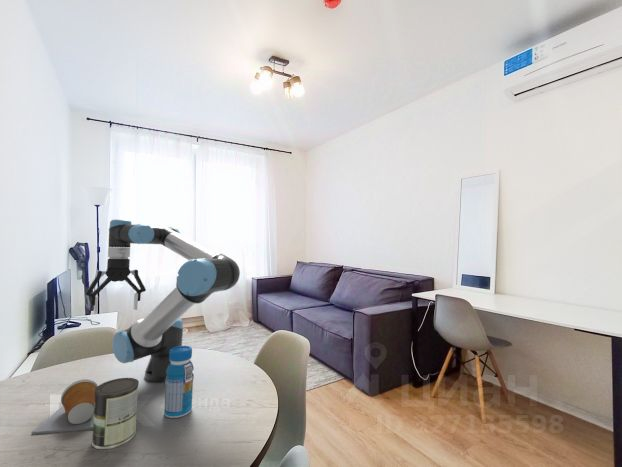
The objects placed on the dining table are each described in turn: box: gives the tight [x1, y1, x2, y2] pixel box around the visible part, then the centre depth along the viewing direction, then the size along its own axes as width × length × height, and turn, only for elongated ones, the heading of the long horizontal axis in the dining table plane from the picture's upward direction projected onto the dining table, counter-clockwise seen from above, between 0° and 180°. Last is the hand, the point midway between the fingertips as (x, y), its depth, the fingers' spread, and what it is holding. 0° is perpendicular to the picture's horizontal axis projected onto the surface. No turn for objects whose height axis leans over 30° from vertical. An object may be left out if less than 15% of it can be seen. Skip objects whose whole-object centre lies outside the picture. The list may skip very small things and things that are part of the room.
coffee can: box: [91, 377, 140, 450], centre depth 83 cm, size 10×10×14 cm
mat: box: [31, 405, 94, 436], centre depth 94 cm, size 18×18×1 cm
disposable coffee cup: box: [60, 378, 99, 424], centre depth 92 cm, size 10×10×12 cm
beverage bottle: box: [163, 345, 195, 419], centre depth 97 cm, size 8×8×20 cm
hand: (116, 311), depth 119 cm, fingers open, 13 cm apart
